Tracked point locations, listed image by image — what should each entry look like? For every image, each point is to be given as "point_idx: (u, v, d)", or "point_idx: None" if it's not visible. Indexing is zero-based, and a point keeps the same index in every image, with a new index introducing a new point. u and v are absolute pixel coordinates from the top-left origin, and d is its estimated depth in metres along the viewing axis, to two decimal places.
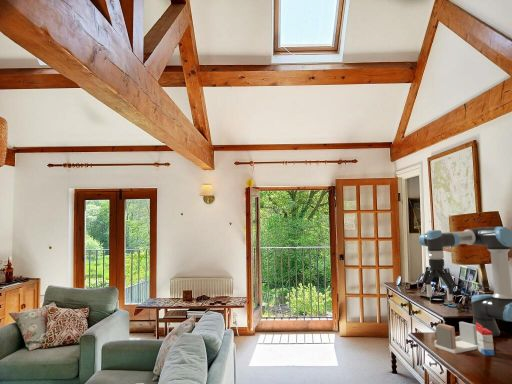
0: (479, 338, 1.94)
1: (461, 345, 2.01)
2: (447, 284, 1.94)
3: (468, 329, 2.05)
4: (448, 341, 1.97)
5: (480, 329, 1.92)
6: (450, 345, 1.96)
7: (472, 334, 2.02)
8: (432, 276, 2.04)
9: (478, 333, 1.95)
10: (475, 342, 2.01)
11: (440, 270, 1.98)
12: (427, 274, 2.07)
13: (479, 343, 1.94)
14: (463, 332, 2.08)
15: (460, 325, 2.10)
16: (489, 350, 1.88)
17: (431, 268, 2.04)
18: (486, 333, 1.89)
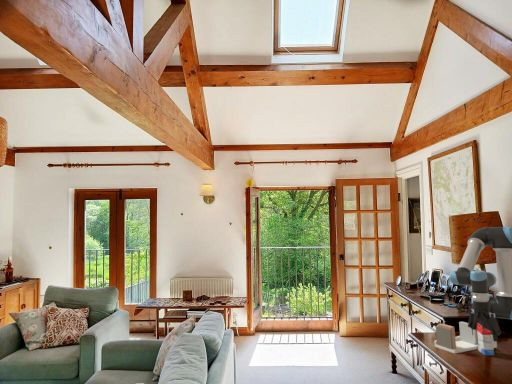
0: (479, 338, 1.94)
1: (461, 345, 2.01)
2: (492, 330, 1.88)
3: (468, 329, 2.05)
4: (448, 341, 1.97)
5: (480, 329, 1.92)
6: (450, 345, 1.96)
7: None
8: (478, 319, 1.96)
9: (478, 333, 1.95)
10: None
11: (486, 313, 1.91)
12: (472, 317, 1.99)
13: (479, 343, 1.94)
14: (463, 332, 2.08)
15: (460, 325, 2.10)
16: (489, 350, 1.88)
17: (475, 310, 1.97)
18: (486, 333, 1.89)
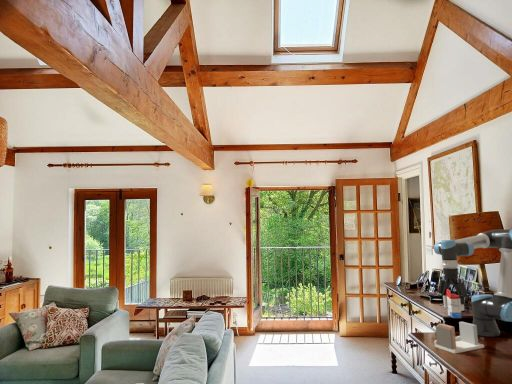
0: (448, 303, 2.06)
1: (461, 345, 2.01)
2: (459, 294, 2.00)
3: (468, 329, 2.05)
4: (448, 341, 1.97)
5: (449, 294, 2.04)
6: (450, 345, 1.96)
7: (472, 334, 2.02)
8: (447, 285, 2.08)
9: (447, 298, 2.07)
10: (475, 342, 2.01)
11: (454, 279, 2.03)
12: (442, 284, 2.11)
13: (448, 307, 2.06)
14: (463, 332, 2.08)
15: (460, 325, 2.10)
16: (457, 313, 2.00)
17: (445, 277, 2.09)
18: (454, 297, 2.01)
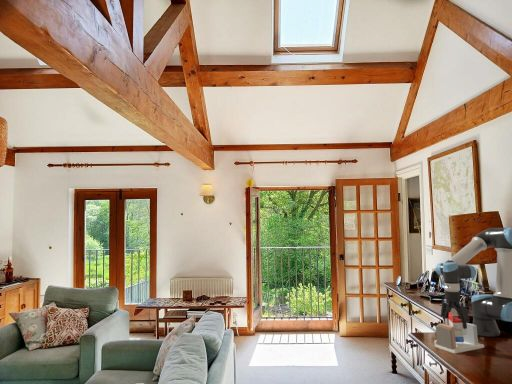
0: None
1: (461, 345, 2.01)
2: (461, 318, 1.98)
3: (468, 329, 2.05)
4: (448, 341, 1.97)
5: (451, 317, 2.02)
6: (450, 345, 1.96)
7: (472, 334, 2.02)
8: (449, 308, 2.07)
9: (449, 321, 2.05)
10: (475, 342, 2.01)
11: (456, 303, 2.02)
12: (444, 307, 2.10)
13: None
14: None
15: None
16: (459, 337, 1.99)
17: (447, 300, 2.07)
18: (456, 321, 2.00)
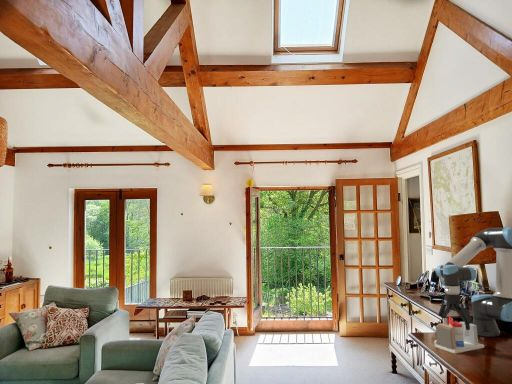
0: None
1: None
2: (464, 320, 1.97)
3: None
4: (448, 341, 1.97)
5: (451, 322, 2.02)
6: (450, 345, 1.96)
7: (472, 334, 2.02)
8: (448, 310, 2.07)
9: None
10: (475, 342, 2.01)
11: (457, 305, 2.01)
12: (443, 308, 2.11)
13: None
14: (463, 332, 2.08)
15: None
16: (459, 341, 1.99)
17: (447, 302, 2.07)
18: (456, 325, 2.00)
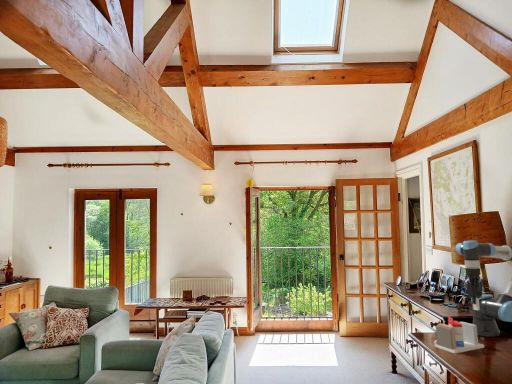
0: None
1: None
2: None
3: (468, 329, 2.05)
4: (448, 341, 1.97)
5: (451, 322, 2.02)
6: (450, 345, 1.96)
7: (472, 334, 2.02)
8: None
9: None
10: (475, 342, 2.01)
11: None
12: None
13: None
14: (463, 332, 2.08)
15: None
16: (459, 341, 1.99)
17: None
18: (456, 325, 2.00)
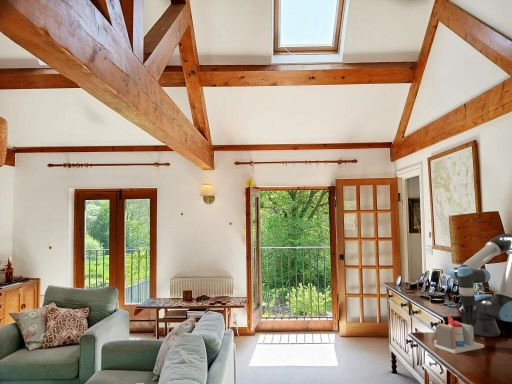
0: None
1: None
2: None
3: (463, 330, 2.04)
4: (448, 341, 1.97)
5: (451, 322, 2.02)
6: (450, 345, 1.96)
7: (468, 335, 2.01)
8: None
9: None
10: (471, 343, 2.00)
11: None
12: None
13: None
14: None
15: None
16: (459, 341, 1.99)
17: None
18: (456, 325, 2.00)
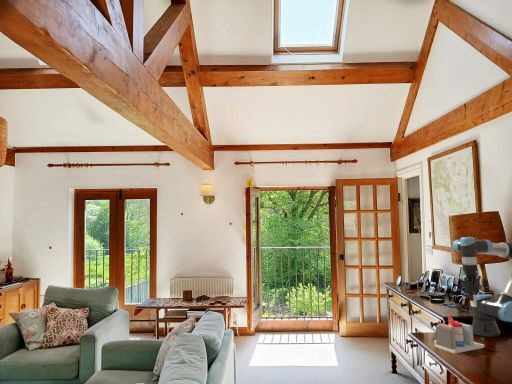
0: None
1: None
2: None
3: (463, 330, 2.04)
4: (448, 341, 1.97)
5: (451, 322, 2.02)
6: (450, 345, 1.96)
7: (468, 335, 2.01)
8: None
9: None
10: (471, 343, 2.00)
11: None
12: None
13: None
14: None
15: None
16: (459, 341, 1.99)
17: None
18: (456, 325, 2.00)
